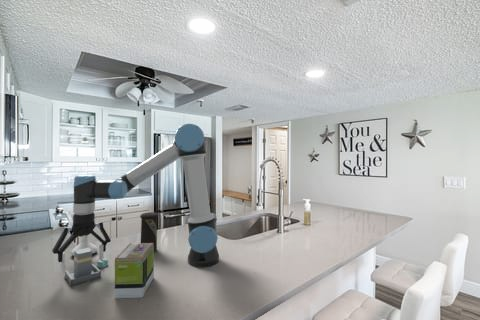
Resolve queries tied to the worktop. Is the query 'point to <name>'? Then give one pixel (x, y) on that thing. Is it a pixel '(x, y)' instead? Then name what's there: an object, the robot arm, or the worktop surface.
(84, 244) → the flower in vase
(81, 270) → the grey box with stripe
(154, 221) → the container
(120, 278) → the tea box
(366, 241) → the worktop surface
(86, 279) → the grey square tray
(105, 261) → the clip
